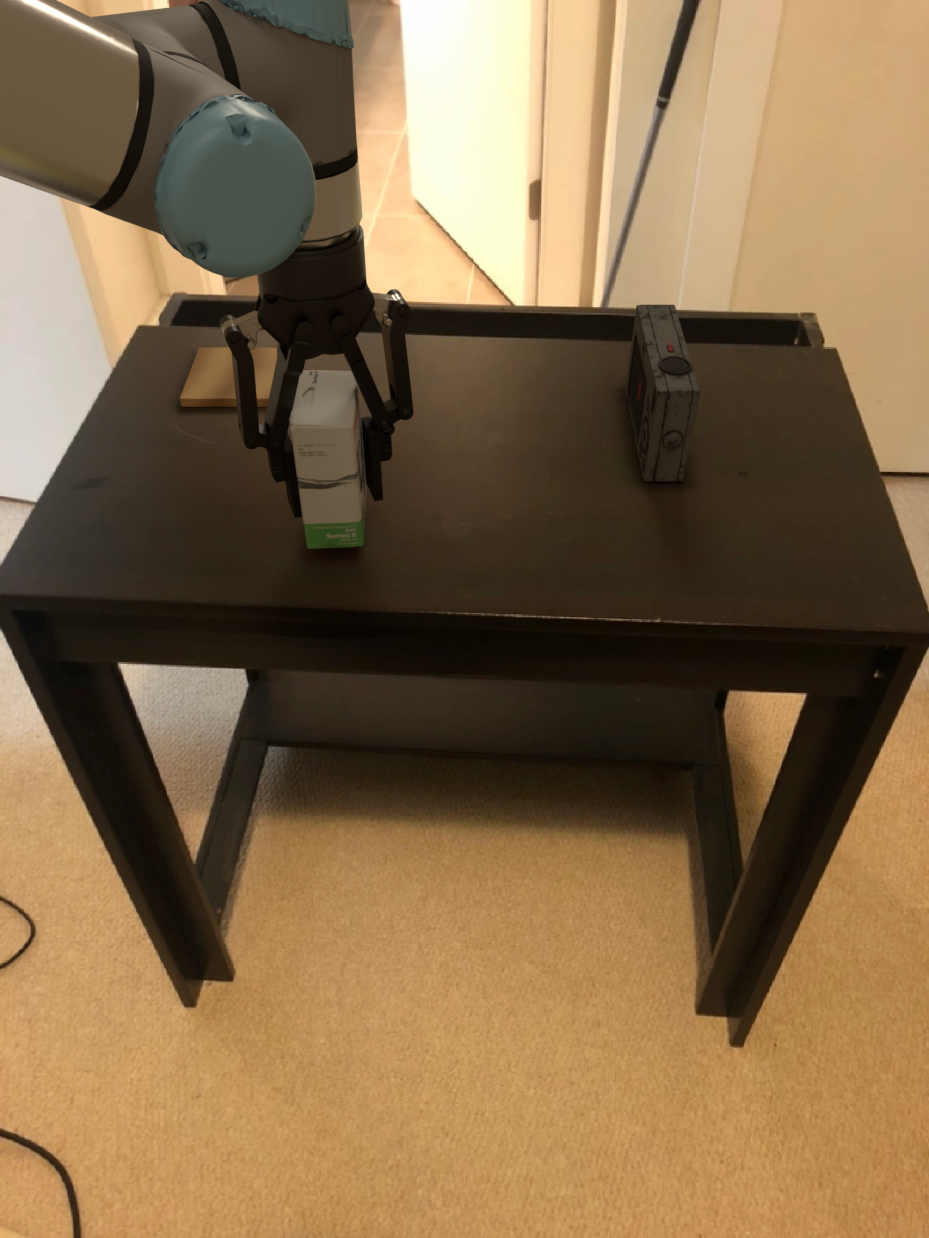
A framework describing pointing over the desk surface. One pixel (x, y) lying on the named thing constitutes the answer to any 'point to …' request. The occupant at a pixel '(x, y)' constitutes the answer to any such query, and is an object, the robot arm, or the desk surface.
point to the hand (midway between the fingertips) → (335, 499)
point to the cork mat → (225, 377)
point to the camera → (661, 393)
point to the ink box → (329, 458)
